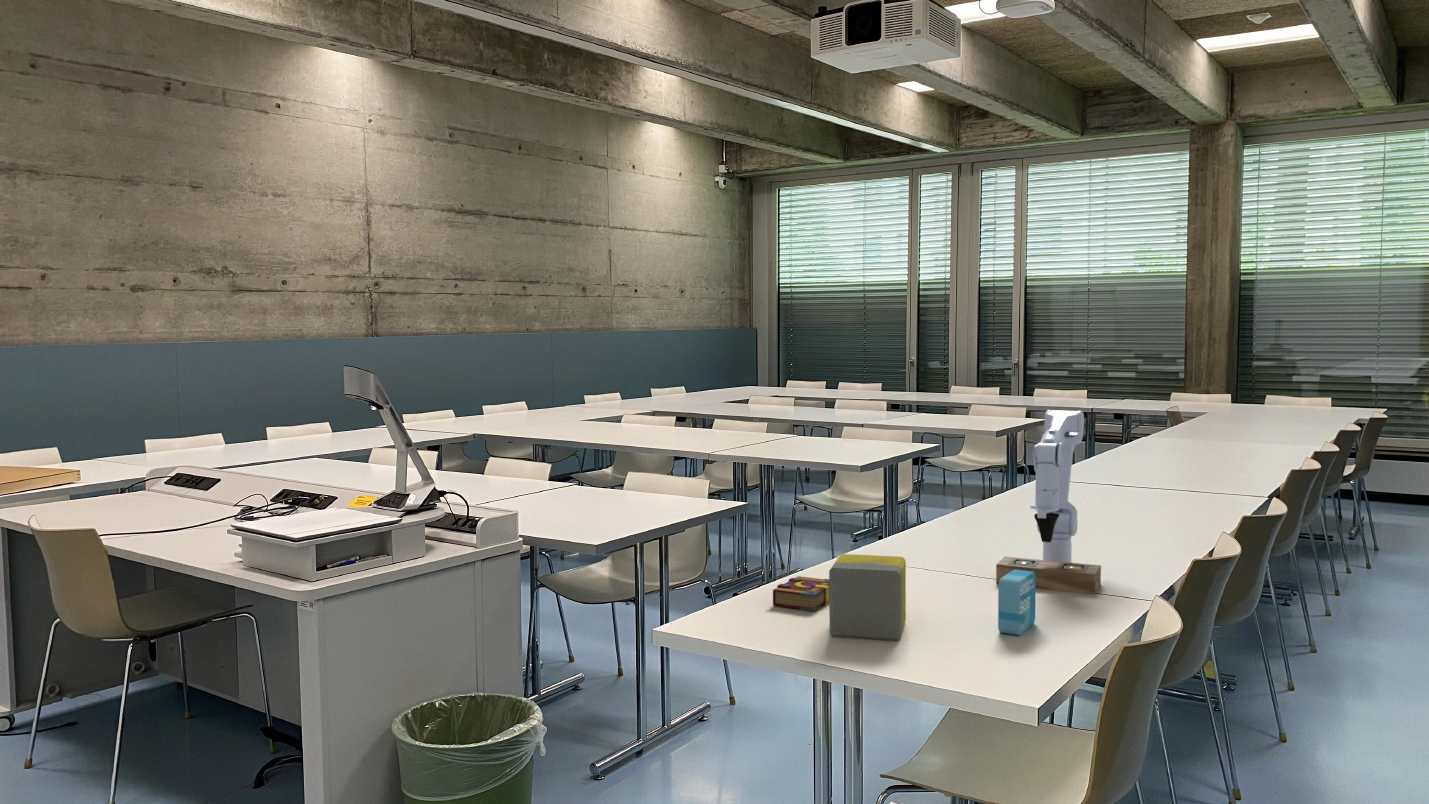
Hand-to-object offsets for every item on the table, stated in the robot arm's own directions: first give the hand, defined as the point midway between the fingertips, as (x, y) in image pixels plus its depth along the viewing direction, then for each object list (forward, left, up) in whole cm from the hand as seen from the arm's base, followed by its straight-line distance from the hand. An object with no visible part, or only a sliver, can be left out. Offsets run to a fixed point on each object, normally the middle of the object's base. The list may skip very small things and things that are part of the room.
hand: (1046, 541), depth 260 cm
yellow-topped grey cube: (+55, -28, -11) cm, 63 cm away
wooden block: (+3, +1, -10) cm, 11 cm away
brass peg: (+3, +7, -11) cm, 13 cm away
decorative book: (+44, -48, -11) cm, 66 cm away
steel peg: (+3, -5, -11) cm, 12 cm away
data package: (+45, +2, -11) cm, 46 cm away
